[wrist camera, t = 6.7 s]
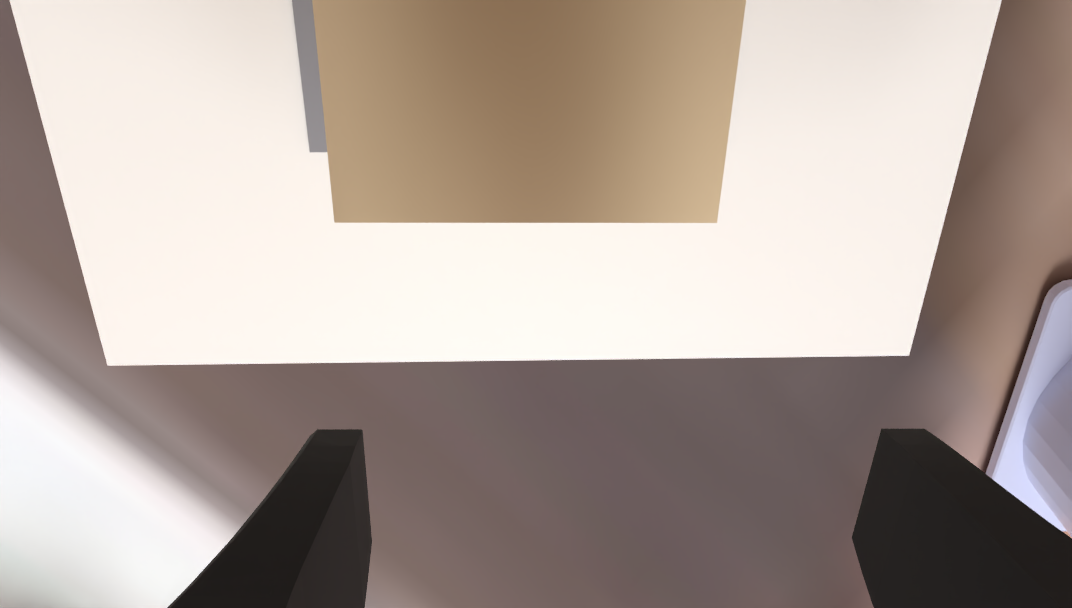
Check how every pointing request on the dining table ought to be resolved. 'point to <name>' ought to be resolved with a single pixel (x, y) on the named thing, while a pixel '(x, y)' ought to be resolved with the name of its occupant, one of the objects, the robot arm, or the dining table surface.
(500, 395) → the dining table surface
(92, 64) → the plinth
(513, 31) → the block
